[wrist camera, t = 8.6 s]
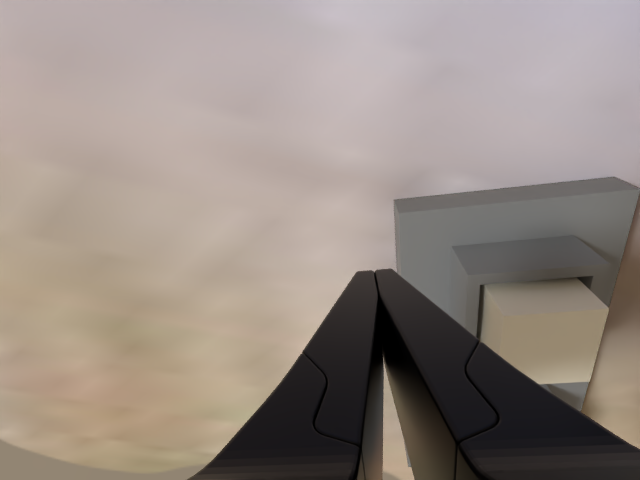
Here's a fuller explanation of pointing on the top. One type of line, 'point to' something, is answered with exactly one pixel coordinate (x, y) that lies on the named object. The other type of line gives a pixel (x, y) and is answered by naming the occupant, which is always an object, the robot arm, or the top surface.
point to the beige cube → (543, 327)
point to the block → (514, 244)
